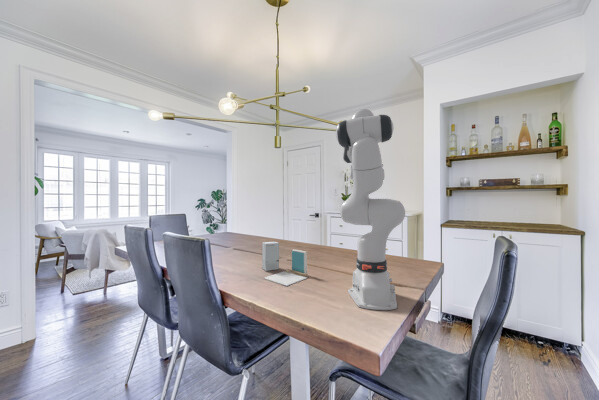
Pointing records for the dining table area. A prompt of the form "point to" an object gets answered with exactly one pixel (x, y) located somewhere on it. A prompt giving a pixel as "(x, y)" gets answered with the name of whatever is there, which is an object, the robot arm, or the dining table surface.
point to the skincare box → (270, 256)
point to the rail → (297, 273)
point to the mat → (285, 278)
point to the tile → (299, 261)
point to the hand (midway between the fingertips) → (366, 186)
